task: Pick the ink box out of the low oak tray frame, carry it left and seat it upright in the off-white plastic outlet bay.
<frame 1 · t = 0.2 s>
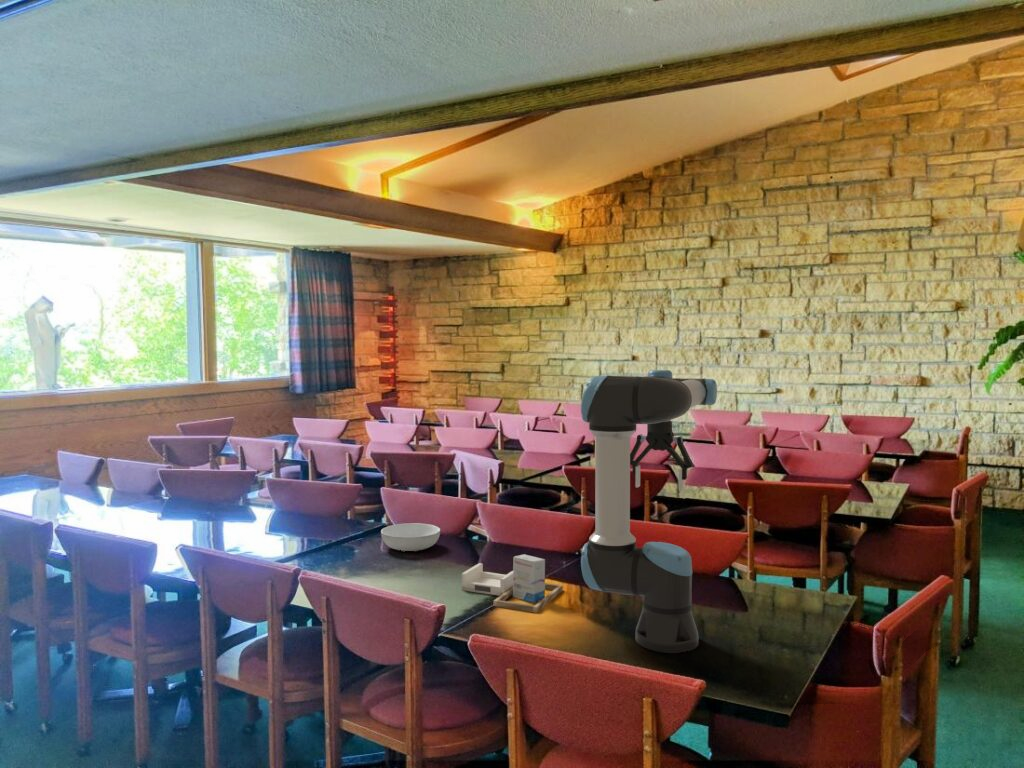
hand: (659, 488, 232), 28 cm above the table, fingers open, 13 cm apart
outlet bay: (491, 587, 224), on the table
ink box: (529, 598, 215), resting in tray frame
serving bowl: (411, 549, 267), on the table
tray frame: (529, 598, 215), on the table
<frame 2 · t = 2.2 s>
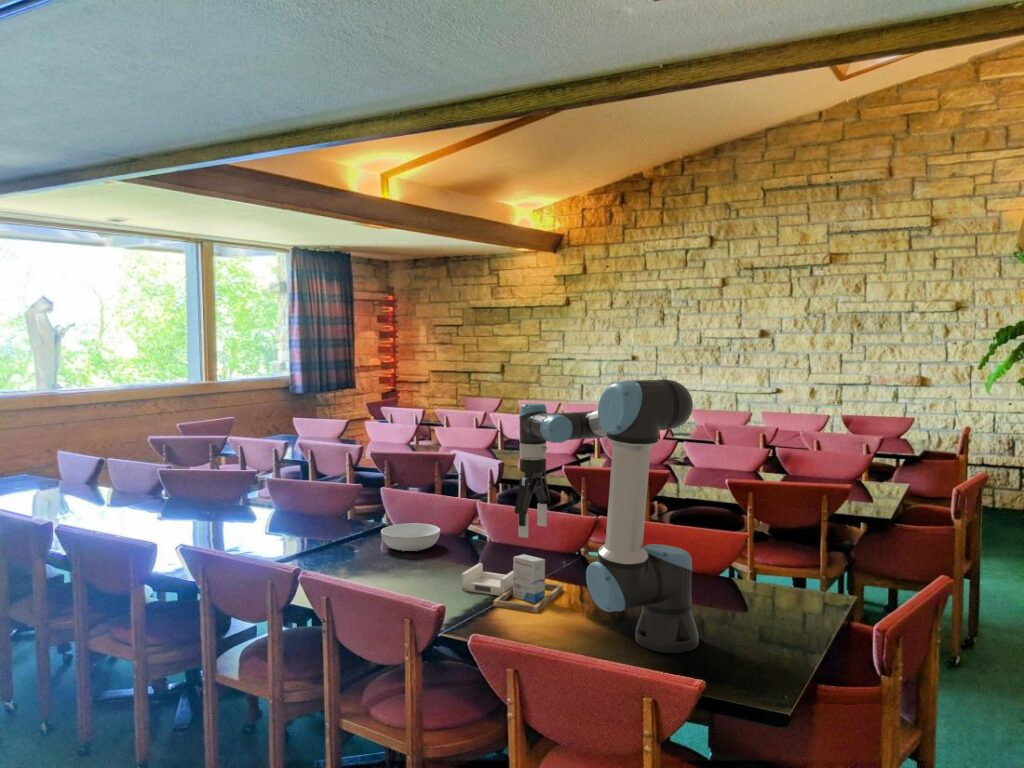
hand: (532, 531, 214), 19 cm above the table, fingers open, 13 cm apart
nothing on the table moved.
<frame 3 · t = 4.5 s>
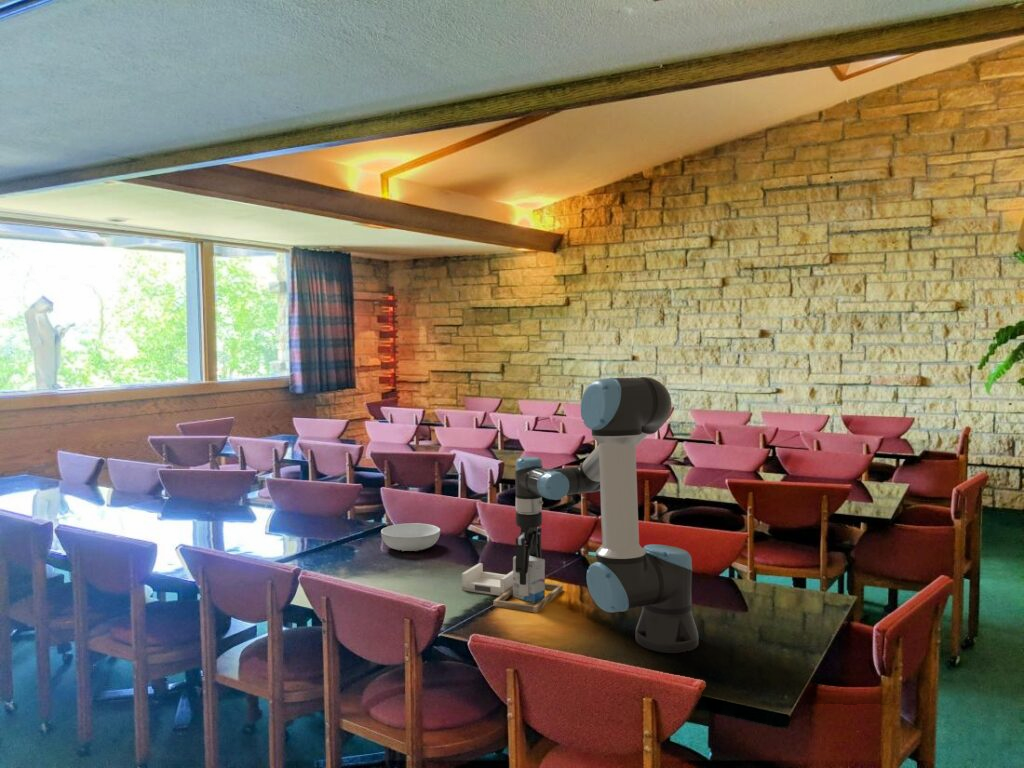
hand: (528, 591, 214), 2 cm above the table, fingers closed on ink box, 6 cm apart
ink box: (529, 598, 215), resting in tray frame, touching gripper
everything else where it was.
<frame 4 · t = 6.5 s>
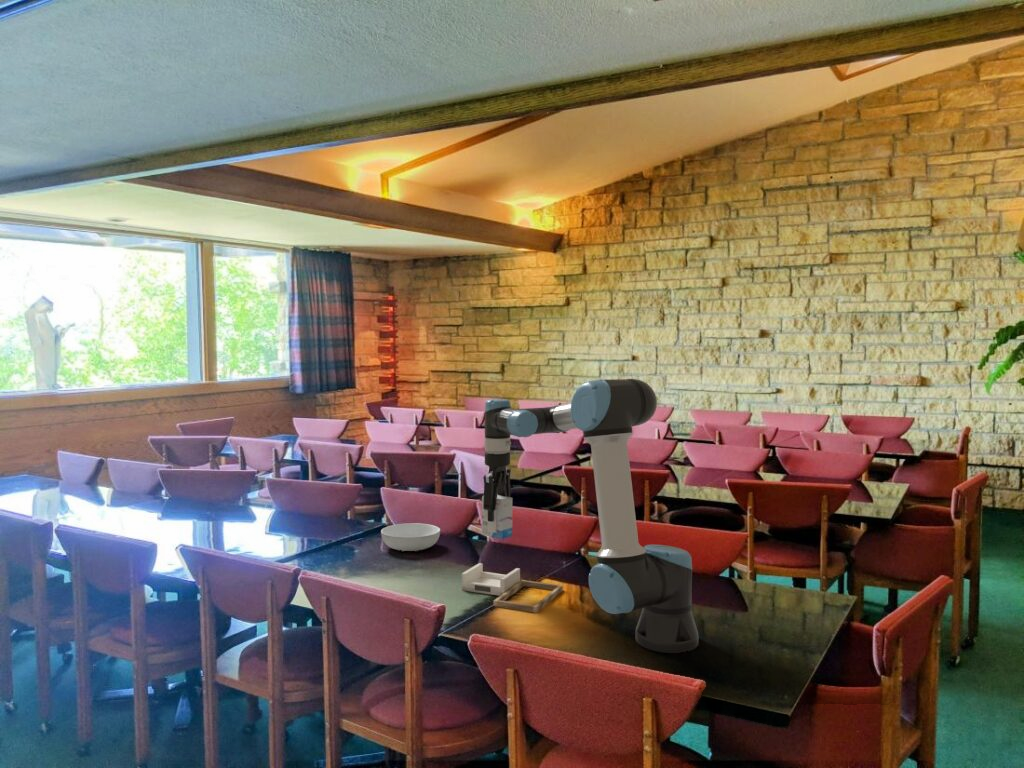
hand: (497, 528, 222), 18 cm above the table, fingers closed on ink box, 6 cm apart
ink box: (497, 536, 222), point 16 cm above the table, touching gripper
everything else where it was.
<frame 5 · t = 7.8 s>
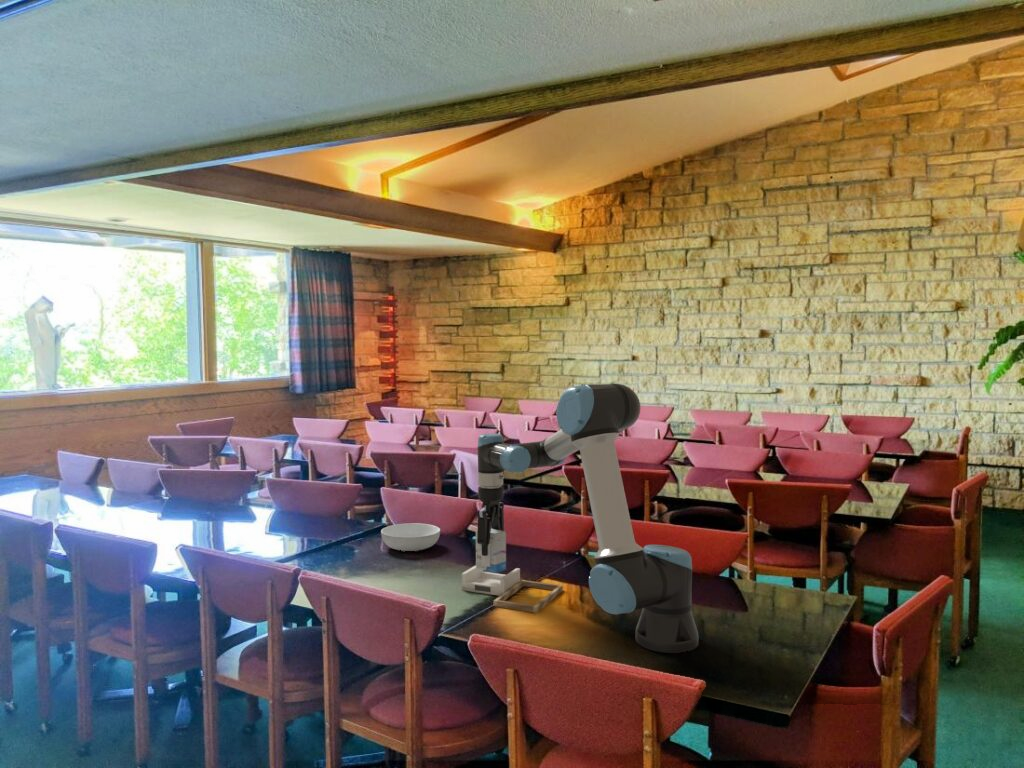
hand: (491, 562, 224), 8 cm above the table, fingers closed on ink box, 6 cm apart
ink box: (491, 569, 224), point 5 cm above the table, touching gripper
everything else where it was.
when the fingers open (4 cm above the table, at t = 8.8 s): ink box drops 1 cm, resting on outlet bay.
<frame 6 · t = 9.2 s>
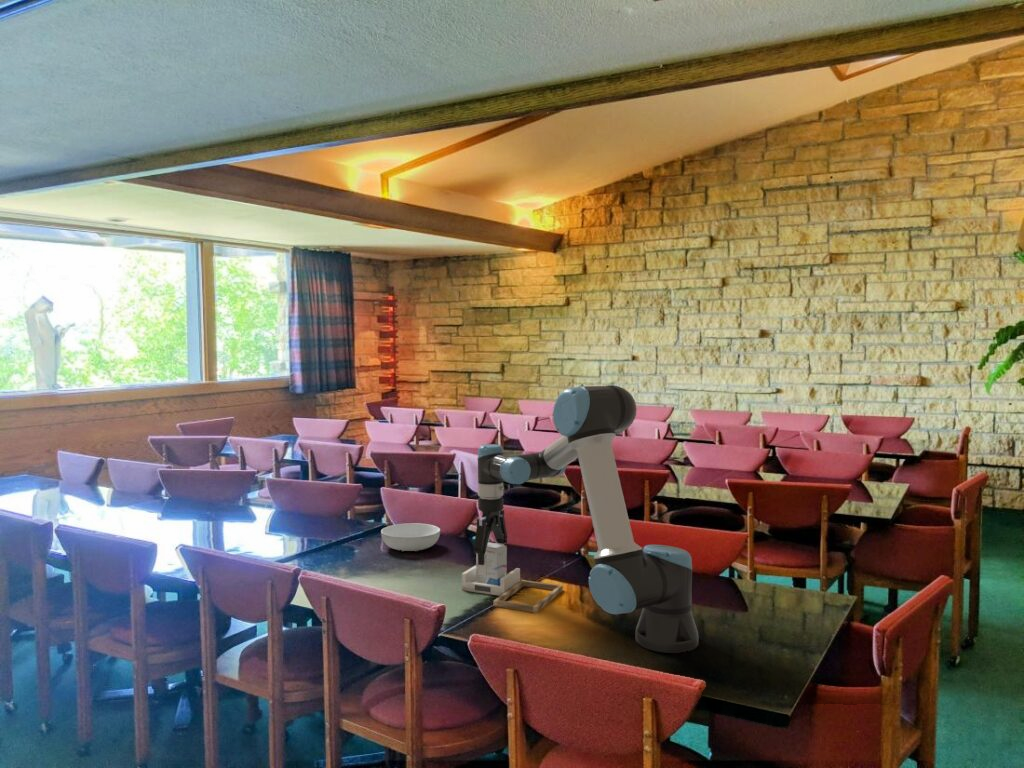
hand: (491, 569, 224), 5 cm above the table, fingers open, 11 cm apart
ink box: (491, 584, 224), point 1 cm above the table, touching outlet bay
everything else where it was.
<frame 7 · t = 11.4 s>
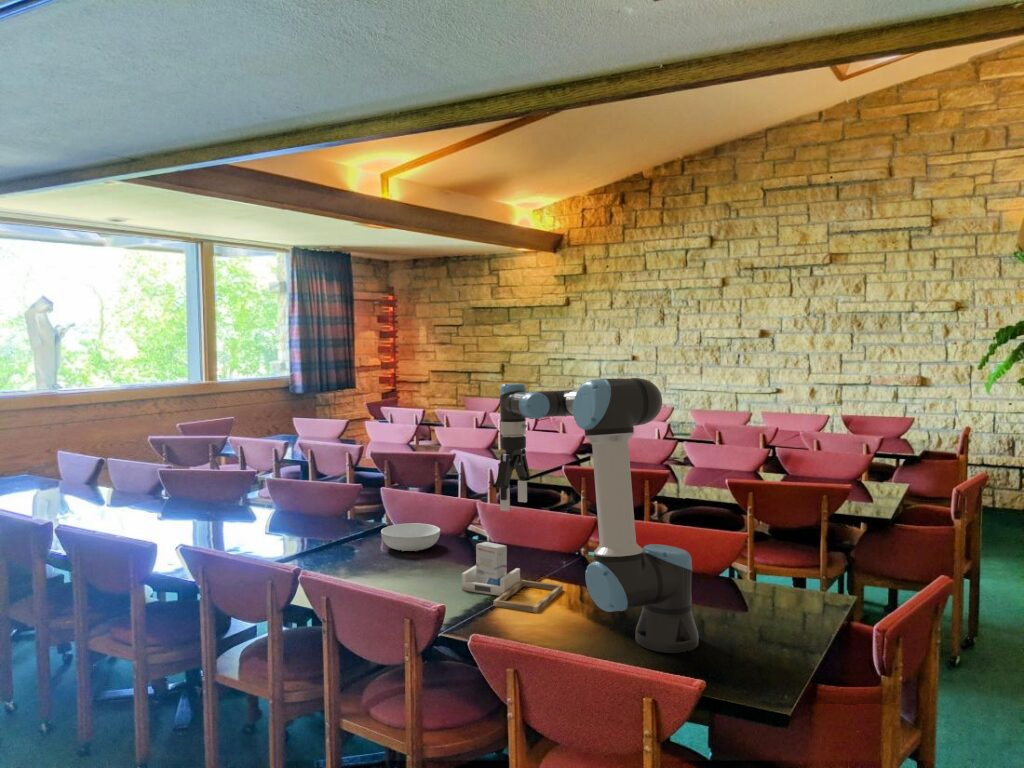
hand: (514, 506, 224), 24 cm above the table, fingers open, 13 cm apart
nothing on the table moved.
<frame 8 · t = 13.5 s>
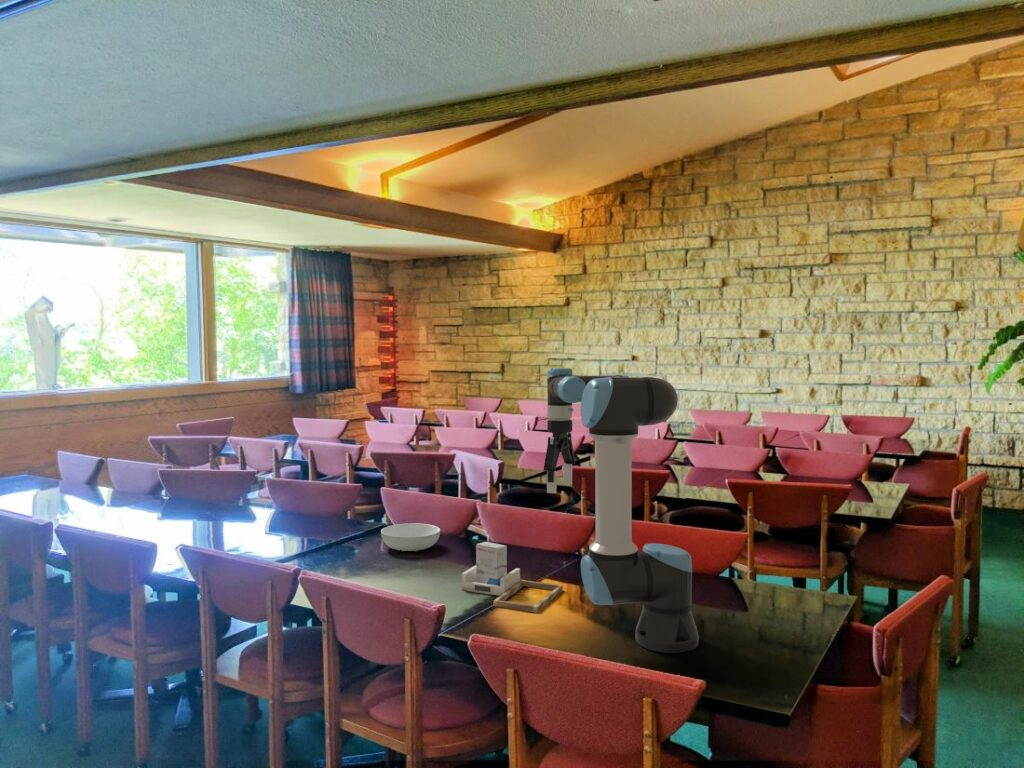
hand: (559, 488, 227), 29 cm above the table, fingers open, 13 cm apart
nothing on the table moved.
at the end: ink box inside the target area on the outlet bay (0.1 cm from its centre), point 1.0 cm above the outlet bay's base; ink box tilted 0°; the gripper is holding nothing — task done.
